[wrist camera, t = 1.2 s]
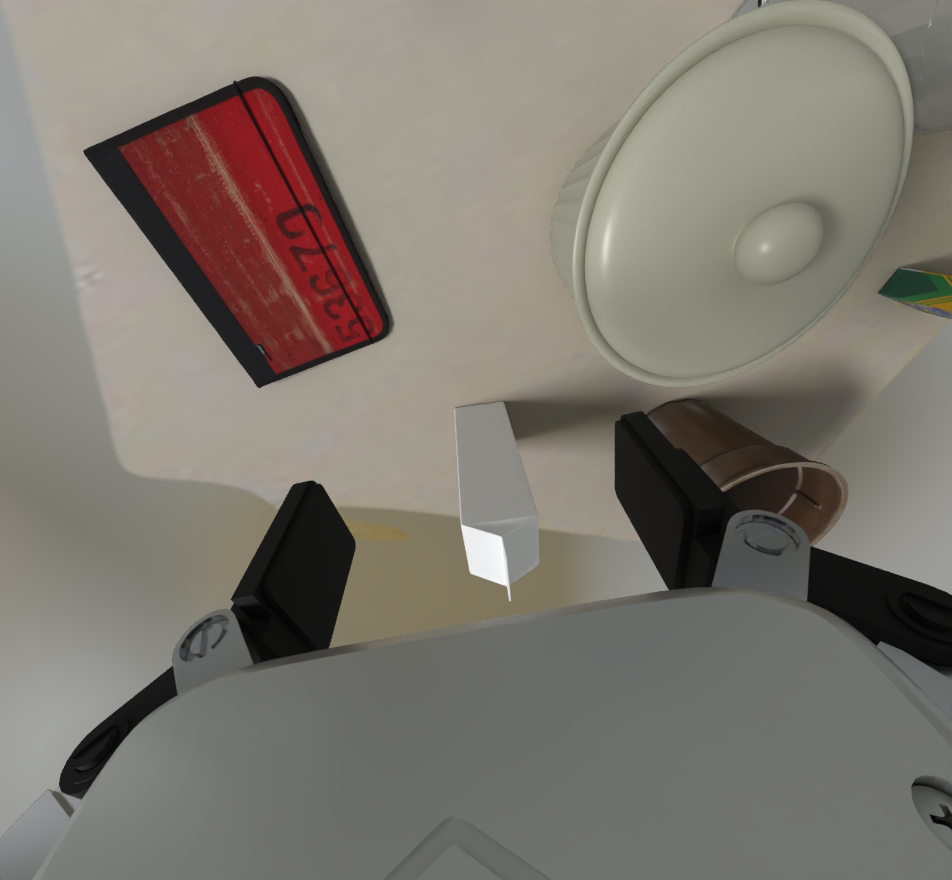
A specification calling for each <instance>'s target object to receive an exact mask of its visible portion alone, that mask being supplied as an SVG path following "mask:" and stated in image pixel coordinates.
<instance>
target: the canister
mask: <svg viewBox="0 0 952 880" xmlns="http://www.w3.org/2000/svg"><path fill="white" fill-rule="evenodd" d="M913 130H914V109H913V97H912V91H911V86H910V81H909V77H908V74H907V71H906V68H905V65H904V62H903V60H902V58H901V56H900V54H899V52H898V50H897V48H896V47H895V45H894V43H893V42H892V40H891V39H890V38H889V36H888V35H887V34H886V33H885V32H884V30H883V29H882V28H881V27H880V26H879V25H878V24H876V23H875V22H874V21H873V20H872V19H870V18H869V17H868V16H866V15H865V14H863V13H861V12H860V11H858V10H856V9H854V8H851V7H849V6H846V5H843V4H840V3H837V2H832V1H827V0H789V1H782V2H777V3H773V4H769V5H766V6H763V7H759V8H756V9H754V10H751V11H748V12H746V13H744V14H741V15H739V16H737V17H735V18H733V19H731V20H729V21H727V22H725V23H723V24H722V25H720V26H718V27H716V28H715V29H713V30H711V31H710V32H708V33H707V34H705V35H704V36H702V37H701V38H699V39H698V40H696V41H695V42H694V43H692V44H691V45H690V46H688V47H687V48H686V49H685V50H683V51H682V52H681V53H680V54H679V55H677V56H676V57H675V58H674V59H673V60H672V61H671V62H670V63H668V64H667V65H666V66H665V67H664V68H663V69H662V70H661V71H660V72H659V73H658V74H657V75H656V76H655V77H654V78H653V79H652V81H651V82H650V83H649V84H648V85H647V86H646V87H645V88H644V90H643V91H642V92H641V93H640V94H639V96H638V97H637V98H636V99H635V101H634V102H633V103H632V105H631V106H630V107H629V109H628V110H627V111H626V113H625V114H624V116H623V117H622V119H620V120H619V121H618V122H617V123H616V124H615V125H614V126H613V127H611V128H610V129H609V130H608V131H607V132H605V133H604V134H603V135H602V136H601V137H600V138H599V139H598V140H597V141H595V142H594V143H593V144H592V145H591V146H590V147H589V148H588V149H587V151H586V152H585V154H584V155H583V156H582V157H581V158H580V159H579V160H578V161H577V162H576V164H575V166H574V168H573V170H572V171H571V172H570V173H569V174H568V175H567V177H566V181H565V183H564V185H563V187H562V189H561V190H560V191H559V197H558V200H557V202H556V204H555V206H554V214H553V218H552V220H551V223H552V229H551V233H550V236H551V250H552V252H553V257H554V258H553V261H554V264H555V265H556V267H557V271H558V275H559V276H560V278H561V280H562V282H563V283H564V285H565V287H566V289H567V290H568V292H569V294H570V295H571V297H572V299H573V300H574V302H575V304H576V308H577V311H578V315H579V317H580V320H581V323H582V325H583V327H584V330H585V332H586V334H587V335H588V337H589V339H590V341H591V342H592V344H593V345H594V347H595V348H596V349H597V350H598V352H599V353H600V354H601V355H602V356H603V357H604V358H605V359H606V360H607V361H608V362H609V363H610V364H611V365H613V366H614V367H615V368H617V369H618V370H619V371H621V372H623V373H624V374H626V375H628V376H630V377H632V378H634V379H637V380H639V381H642V382H645V383H649V384H653V385H658V386H665V387H690V386H698V385H704V384H709V383H713V382H717V381H720V380H724V379H727V378H730V377H733V376H735V375H738V374H740V373H743V372H745V371H747V370H749V369H751V368H753V367H755V366H757V365H759V364H761V363H763V362H765V361H766V360H768V359H770V358H771V357H773V356H775V355H776V354H778V353H779V352H781V351H782V350H784V349H785V348H787V347H788V346H789V345H791V344H792V343H793V342H795V341H796V340H797V339H799V338H800V337H801V336H802V335H804V334H805V333H806V332H807V331H808V330H809V329H811V328H812V327H813V326H814V325H815V324H816V323H817V322H818V321H819V320H820V319H821V318H822V317H823V316H824V315H825V314H826V313H827V312H828V311H829V310H830V309H831V308H832V307H833V306H834V305H835V304H836V303H837V301H838V300H839V299H840V298H841V297H842V296H843V295H844V293H845V292H846V291H847V290H848V288H849V287H850V286H851V285H852V283H853V282H854V281H855V279H856V278H857V277H858V275H859V274H860V272H861V271H862V269H863V268H864V266H865V265H866V263H867V262H868V260H869V259H870V257H871V256H872V254H873V252H874V251H875V249H876V247H877V245H878V244H879V242H880V240H881V238H882V236H883V234H884V232H885V230H886V228H887V226H888V224H889V222H890V220H891V217H892V215H893V213H894V210H895V208H896V205H897V203H898V200H899V197H900V194H901V191H902V188H903V185H904V182H905V178H906V174H907V170H908V166H909V161H910V156H911V150H912V142H913Z"/></svg>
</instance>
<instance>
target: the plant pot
mask: <svg viewBox="0 0 952 880" xmlns="http://www.w3.org/2000/svg"><path fill="white" fill-rule="evenodd" d="M647 417H648V418H649V419H650V420H651V421H652V422H653V424H654V425H655V426H656V427H657V428H658V429H659V430H660V431H661V433H662V434H663V435H664V436H665V437H666V438H667V439H668V440H669V442H670V443H671V444H672V445H673V446H674V447H675V448H681V449H683V450H685V451H686V452H687V453H688V454H689V455H690V456H691V458H692V459H693V460H694V461H695V462H696V463H697V464H698V465H699V466H700V467H701V468H702V470H703V471H704V472H705V473H706V474H707V475H708V476H709V477H710V478H711V479H712V480H713V482H714V483H715V484H716V485H717V486H718V487H719V488H720V489H721V490H722V491H723V492H724V494H725V495H726V496H727V497H728V498H729V499H730V500H731V501H732V502H733V503H734V504H735V506H736V507H737V508H738V509H739V510H740V511H741V512H742V511H746V510H762V511H768V512H772V513H775V514H778V515H781V516H784V517H785V518H787V519H789V520H791V521H793V522H794V523H796V524H797V525H798V526H799V527H800V528H802V529H803V530H804V532H805V533H806V535H807V536H808V538H809V542H810V546H812V547H813V546H814V545H815V544H816V543H818V542H819V541H820V540H821V539H822V538H823V537H824V536H825V535H826V534H827V533H828V532H829V531H830V530H831V529H832V528H833V527H834V526H835V524H836V523H837V521H838V520H839V519H840V517H841V515H842V513H843V512H844V509H845V506H846V504H847V500H848V485H847V482H846V480H845V478H844V477H843V476H842V474H841V473H839V472H838V471H837V470H835V469H833V468H831V467H830V466H828V465H826V464H823V463H819V462H816V461H810V460H808V459H806V458H804V457H803V456H801V455H799V454H797V453H796V452H794V451H792V450H790V449H788V448H785V447H782V446H777V445H775V444H773V443H771V442H770V441H768V440H766V439H764V438H763V437H761V436H759V435H757V434H756V433H754V432H752V431H751V430H749V429H747V428H745V427H744V426H742V425H740V424H739V423H737V422H735V421H733V420H732V419H730V418H729V417H727V416H725V415H724V414H722V413H720V412H719V411H717V410H715V409H714V408H712V407H711V406H709V405H707V404H706V403H703V402H701V401H697V400H686V401H683V402H670V403H667V404H665V405H663V406H661V407H659V408H657V409H655V410H654V411H652V412H651V413H649V414H648V415H647Z"/></svg>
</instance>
